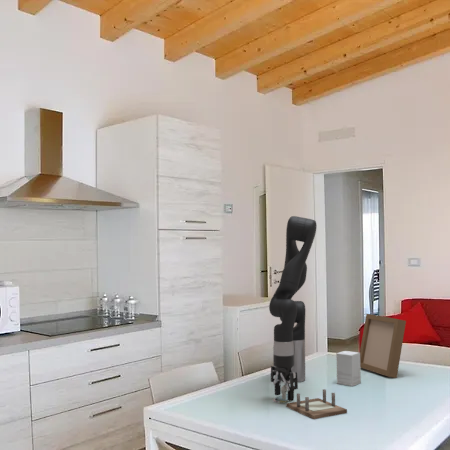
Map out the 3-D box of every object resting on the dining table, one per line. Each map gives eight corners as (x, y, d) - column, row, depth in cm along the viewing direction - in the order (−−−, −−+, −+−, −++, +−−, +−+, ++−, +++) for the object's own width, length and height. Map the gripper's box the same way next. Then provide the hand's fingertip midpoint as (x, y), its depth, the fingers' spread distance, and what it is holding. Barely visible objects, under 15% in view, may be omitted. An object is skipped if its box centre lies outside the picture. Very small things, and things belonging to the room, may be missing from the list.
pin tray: (286, 406, 195) (286, 390, 195) (318, 401, 201) (318, 385, 201) (313, 419, 180) (313, 402, 181) (347, 413, 187) (346, 396, 187)
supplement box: (361, 383, 227) (360, 352, 227) (352, 386, 222) (351, 355, 222) (345, 380, 232) (345, 350, 232) (336, 383, 227) (335, 352, 227)
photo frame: (388, 379, 234) (387, 319, 235) (357, 368, 254) (356, 314, 255) (416, 375, 240) (414, 317, 241) (383, 365, 260) (382, 312, 261)
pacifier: (269, 402, 201) (282, 405, 197) (268, 384, 202) (281, 387, 197) (282, 398, 207) (294, 400, 202) (281, 381, 207) (294, 383, 203)
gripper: (303, 355, 197) (303, 401, 197) (281, 349, 210) (281, 391, 209) (285, 357, 194) (286, 404, 193) (264, 350, 206) (265, 394, 206)
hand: (284, 397), depth 201 cm, fingers open, 8 cm apart
